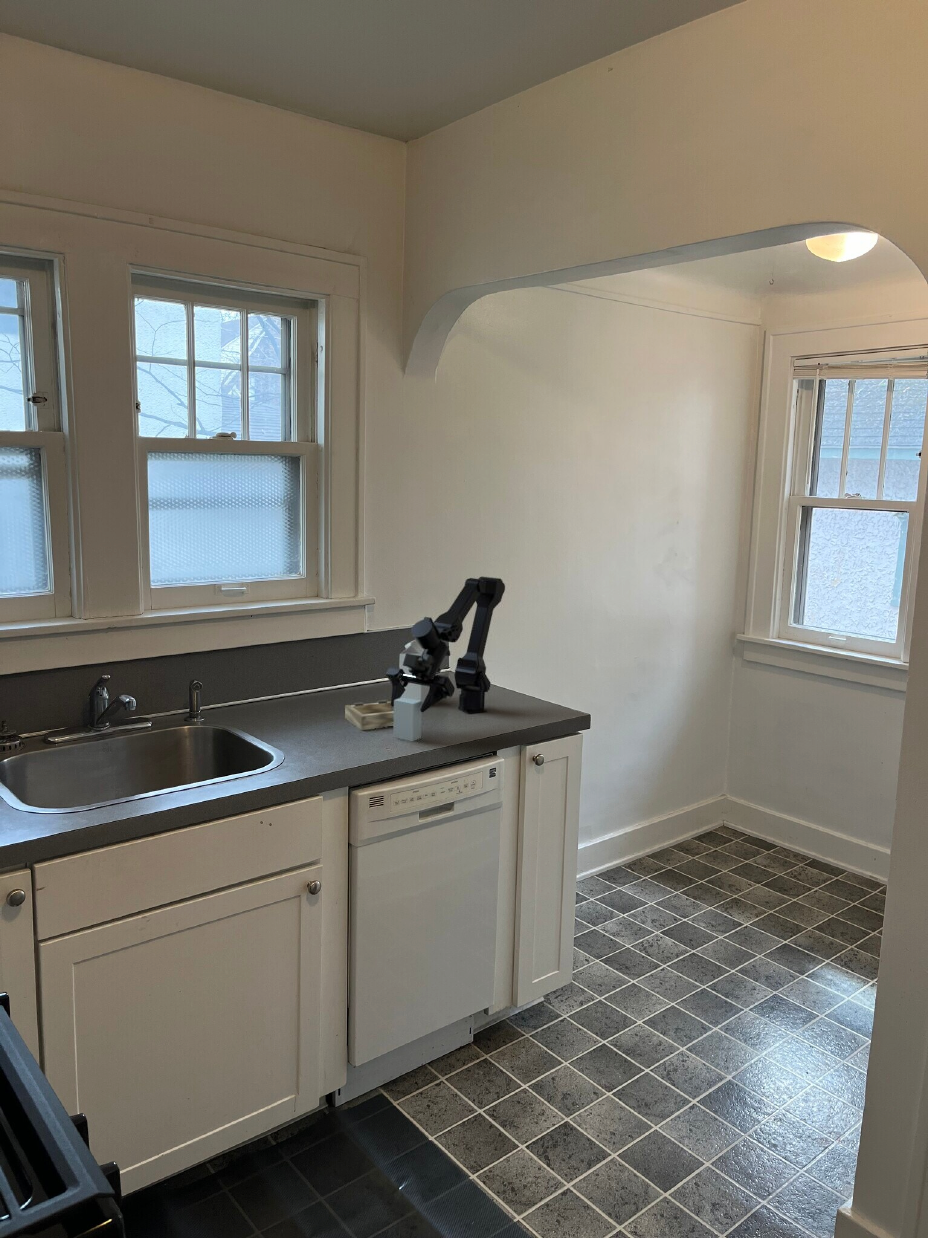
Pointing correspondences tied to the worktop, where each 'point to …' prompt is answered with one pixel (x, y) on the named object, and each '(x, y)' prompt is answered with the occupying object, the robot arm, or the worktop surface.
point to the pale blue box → (407, 718)
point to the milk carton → (411, 689)
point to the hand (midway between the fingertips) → (406, 708)
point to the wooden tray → (370, 715)
